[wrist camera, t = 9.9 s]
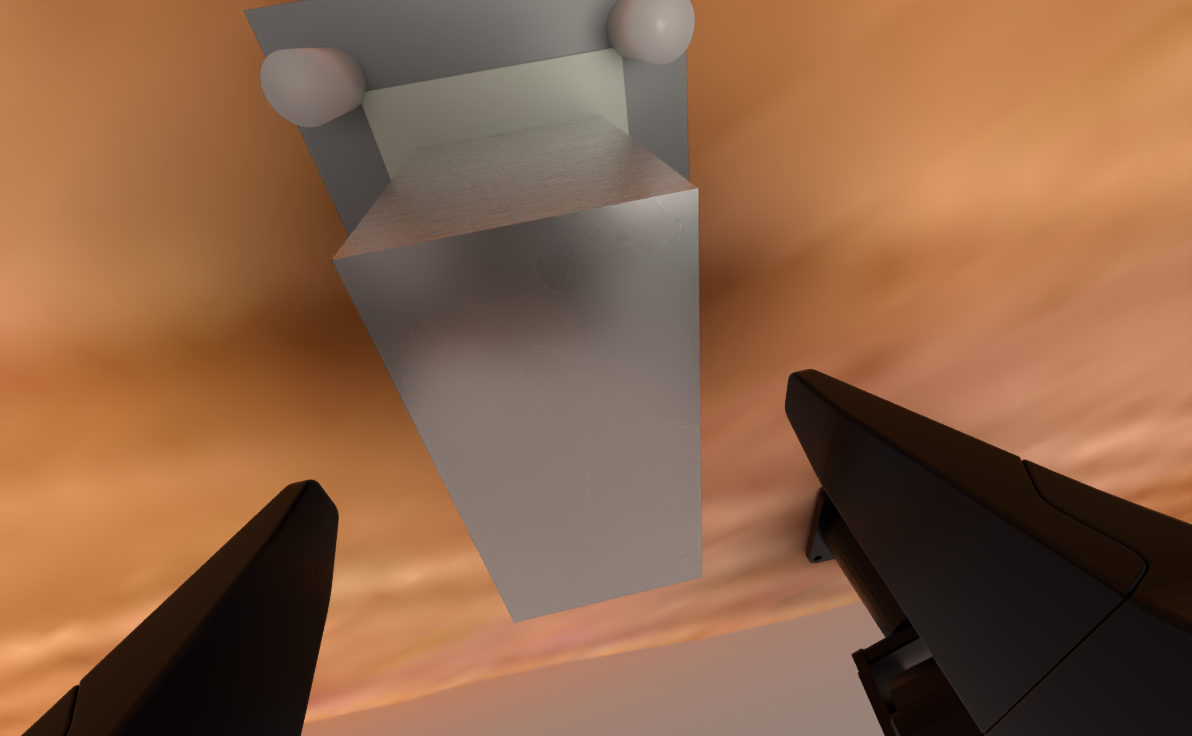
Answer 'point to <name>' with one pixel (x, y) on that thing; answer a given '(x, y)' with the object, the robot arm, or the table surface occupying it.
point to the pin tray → (467, 77)
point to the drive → (547, 352)
